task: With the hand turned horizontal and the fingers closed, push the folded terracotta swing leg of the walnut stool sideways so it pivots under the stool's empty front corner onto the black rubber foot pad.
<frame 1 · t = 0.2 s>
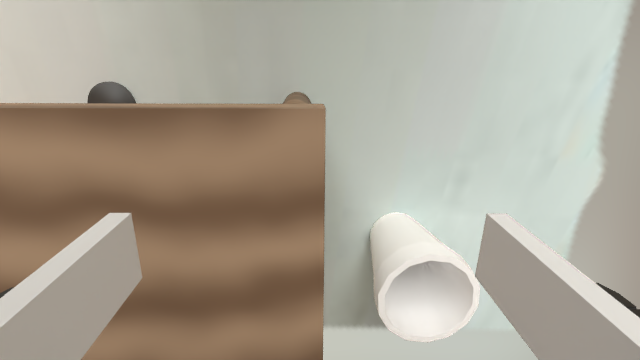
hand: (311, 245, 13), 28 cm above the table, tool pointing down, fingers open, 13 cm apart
foam cup: (394, 234, 45), on the table
stool: (213, 191, 42), on the table
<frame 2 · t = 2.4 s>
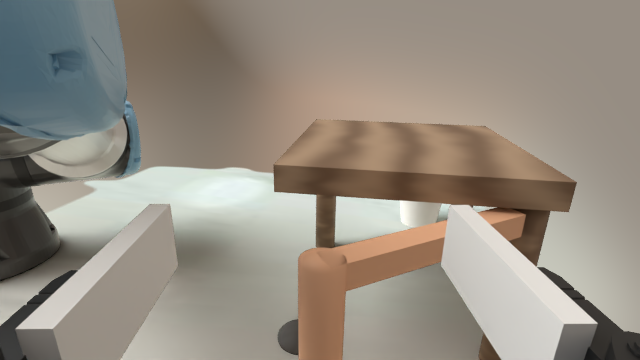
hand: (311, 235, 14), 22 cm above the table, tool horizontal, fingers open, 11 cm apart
foam cup: (417, 222, 66), on the table
stool: (390, 289, 47), on the table
swing leg: (413, 326, 28), point 9 cm above the table, hinge at 35.0°
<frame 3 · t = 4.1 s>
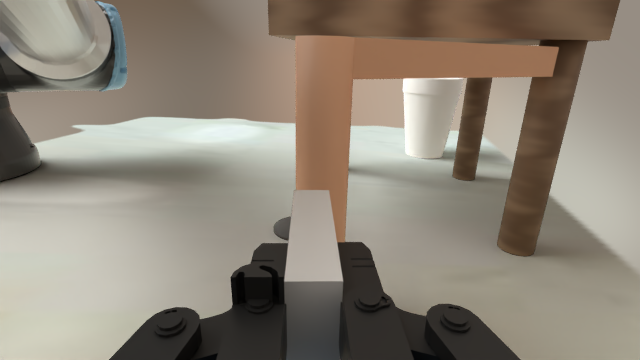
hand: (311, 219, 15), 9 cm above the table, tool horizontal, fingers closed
foam cup: (423, 154, 63), on the table
stool: (396, 197, 43), on the table
swing leg: (429, 171, 24), point 9 cm above the table, hinge at 35.0°
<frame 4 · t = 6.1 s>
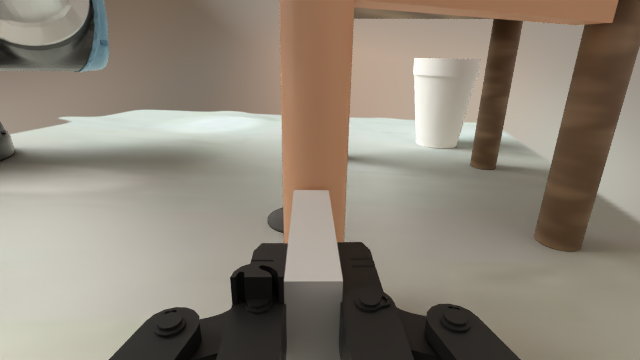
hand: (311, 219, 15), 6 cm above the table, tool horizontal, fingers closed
foam cup: (435, 144, 57), on the table
stool: (410, 187, 38), on the table
swing leg: (453, 137, 19), point 9 cm above the table, hinge at 32.2°, touching gripper
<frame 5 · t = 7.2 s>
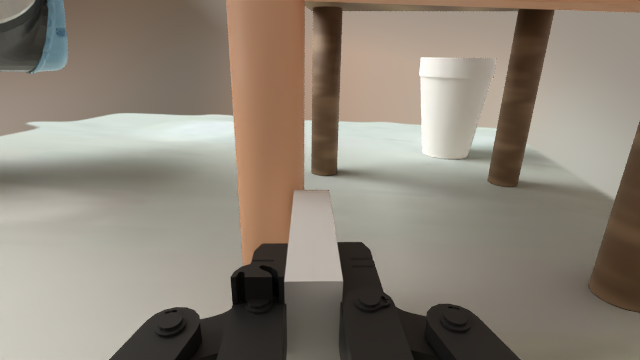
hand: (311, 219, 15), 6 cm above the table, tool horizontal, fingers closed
foam cup: (444, 154, 51), on the table
stool: (421, 212, 31), on the table
swing leg: (448, 149, 17), point 9 cm above the table, hinge at 13.8°, touching gripper
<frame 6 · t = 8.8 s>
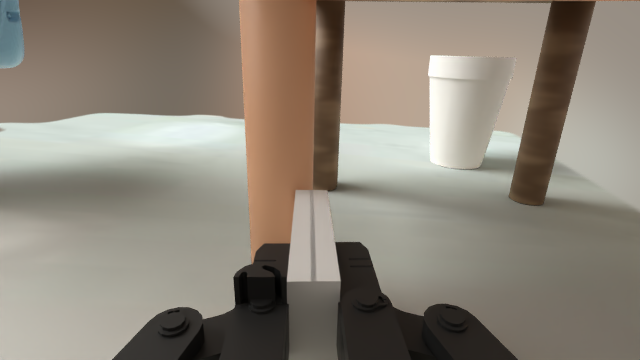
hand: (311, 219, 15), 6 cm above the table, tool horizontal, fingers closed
foam cup: (454, 163, 46), on the table
stool: (441, 241, 26), on the table
swing leg: (472, 163, 15), point 9 cm above the table, hinge at -2.8°, touching gripper
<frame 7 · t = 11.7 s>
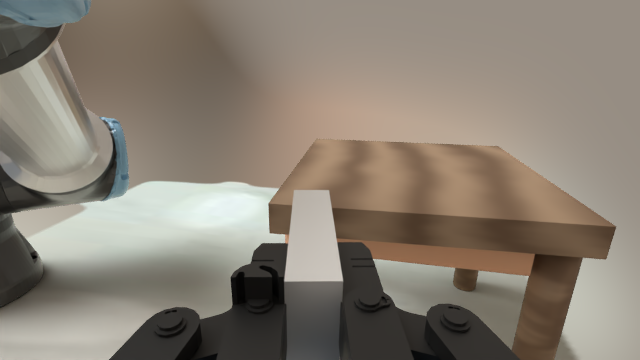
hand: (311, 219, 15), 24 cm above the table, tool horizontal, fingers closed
stool: (397, 325, 43), on the table
swing leg: (392, 316, 32), point 9 cm above the table, hinge at -3.0°
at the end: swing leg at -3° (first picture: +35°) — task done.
